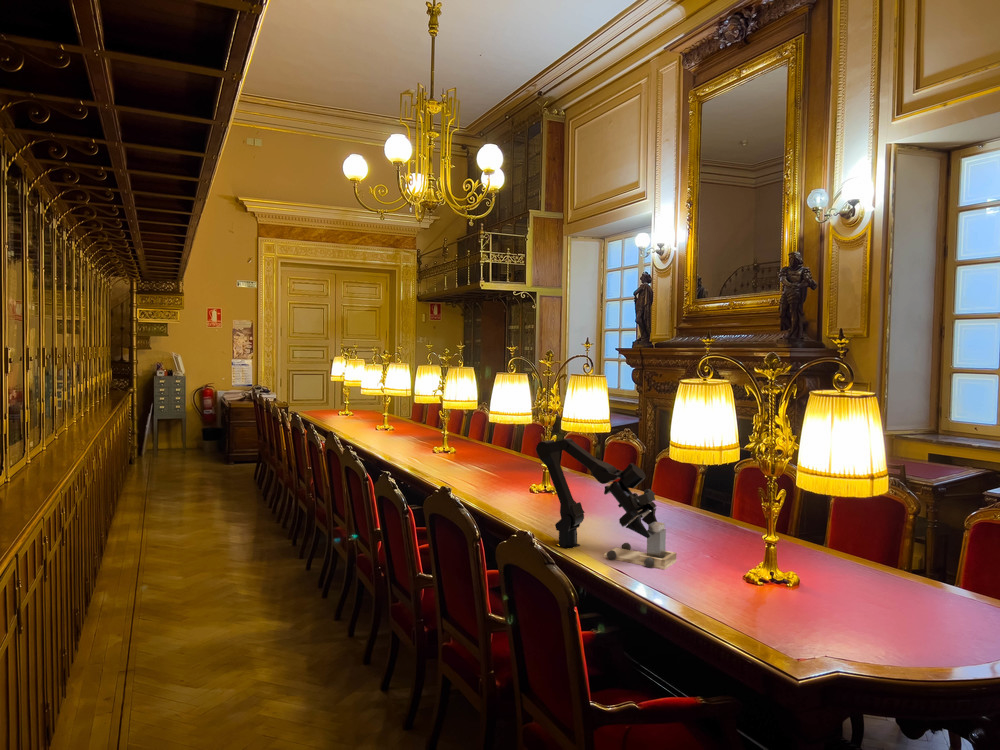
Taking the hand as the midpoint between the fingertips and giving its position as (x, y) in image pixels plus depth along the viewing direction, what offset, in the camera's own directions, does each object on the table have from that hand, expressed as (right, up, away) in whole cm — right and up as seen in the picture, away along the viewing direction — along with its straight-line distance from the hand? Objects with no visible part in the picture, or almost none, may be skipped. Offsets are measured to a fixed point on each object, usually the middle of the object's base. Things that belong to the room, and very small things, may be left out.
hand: (654, 534), depth 225 cm
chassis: (-4, -9, +3) cm, 11 cm away
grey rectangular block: (+1, -8, 0) cm, 8 cm away
